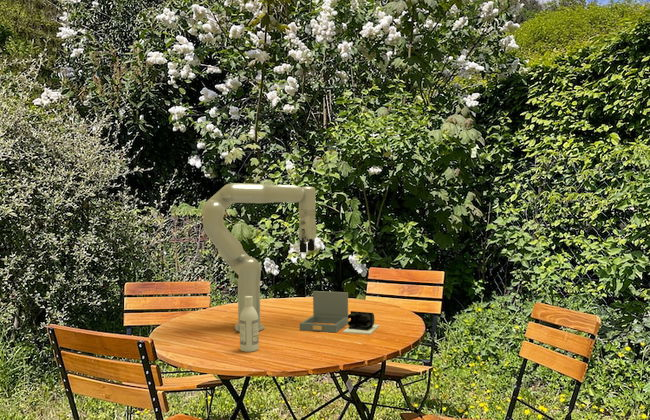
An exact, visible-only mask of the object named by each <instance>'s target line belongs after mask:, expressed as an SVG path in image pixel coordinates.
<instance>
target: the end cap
mask: <svg viewBox="0 0 650 420" xmlns="http://www.w3.org/2000/svg"><path fill="white" fill-rule="evenodd" d="M349 319H350V320H349ZM374 324H375V313H374V312H367V311H356V310H354V311H353V310H351V311H350V314H349V313H348V324H347V325H348V327H349V326H350V327H349V329H357V330H370V329H371V328H372V327H373V325H374Z"/></svg>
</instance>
